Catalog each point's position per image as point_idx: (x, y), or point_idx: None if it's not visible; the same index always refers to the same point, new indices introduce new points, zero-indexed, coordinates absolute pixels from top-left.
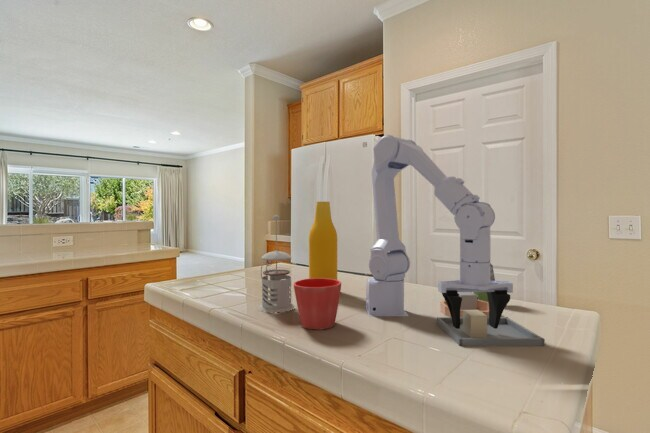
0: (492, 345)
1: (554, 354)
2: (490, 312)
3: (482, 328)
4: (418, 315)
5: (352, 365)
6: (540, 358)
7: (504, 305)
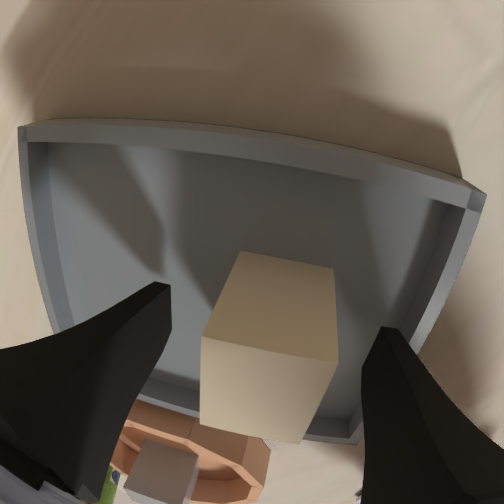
0: (284, 137)
1: (48, 63)
2: (137, 380)
3: (257, 285)
4: (345, 472)
5: None
6: (120, 13)
7: (33, 347)
